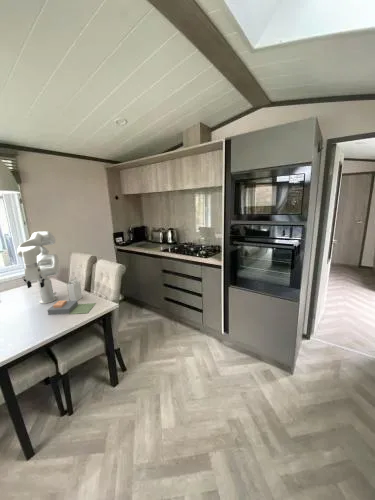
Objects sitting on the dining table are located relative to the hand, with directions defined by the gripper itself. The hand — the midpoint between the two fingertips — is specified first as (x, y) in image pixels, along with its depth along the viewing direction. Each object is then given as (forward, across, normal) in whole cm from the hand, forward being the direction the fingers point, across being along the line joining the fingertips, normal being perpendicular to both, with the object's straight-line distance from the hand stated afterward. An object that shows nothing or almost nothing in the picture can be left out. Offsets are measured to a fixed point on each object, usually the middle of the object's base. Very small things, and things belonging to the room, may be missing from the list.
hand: (36, 287), depth 163 cm
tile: (+18, -12, -5) cm, 22 cm away
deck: (+22, -14, -5) cm, 26 cm away
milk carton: (+22, -15, -23) cm, 35 cm away
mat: (+22, -29, -5) cm, 37 cm away
